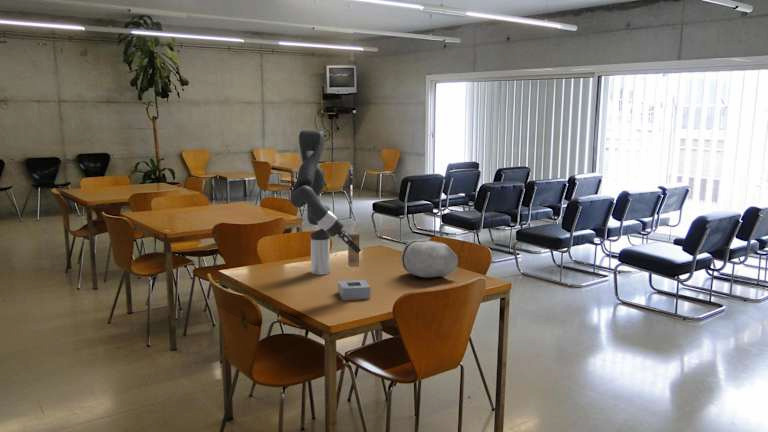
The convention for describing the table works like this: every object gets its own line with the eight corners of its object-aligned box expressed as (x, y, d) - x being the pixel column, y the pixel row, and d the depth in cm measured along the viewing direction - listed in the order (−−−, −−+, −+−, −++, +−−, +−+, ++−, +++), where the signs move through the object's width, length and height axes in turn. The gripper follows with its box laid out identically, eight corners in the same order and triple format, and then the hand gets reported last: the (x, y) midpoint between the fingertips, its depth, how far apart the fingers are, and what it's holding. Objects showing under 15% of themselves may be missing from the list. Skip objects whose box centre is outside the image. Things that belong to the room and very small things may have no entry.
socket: (337, 292, 267) (337, 281, 266) (364, 290, 270) (364, 279, 269) (342, 300, 255) (342, 288, 255) (370, 298, 258) (370, 287, 257)
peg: (348, 264, 262) (348, 232, 260) (357, 264, 263) (357, 232, 260) (349, 266, 258) (349, 234, 256) (359, 266, 259) (359, 234, 257)
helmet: (438, 236, 313) (393, 235, 295) (473, 245, 294) (427, 245, 275) (434, 270, 315) (389, 271, 297) (469, 281, 295) (423, 284, 277)
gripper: (339, 219, 248) (367, 247, 253) (333, 214, 262) (361, 240, 267) (326, 232, 248) (355, 260, 253) (321, 226, 262) (349, 253, 266)
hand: (358, 250), depth 260 cm, fingers closed on peg, 4 cm apart
